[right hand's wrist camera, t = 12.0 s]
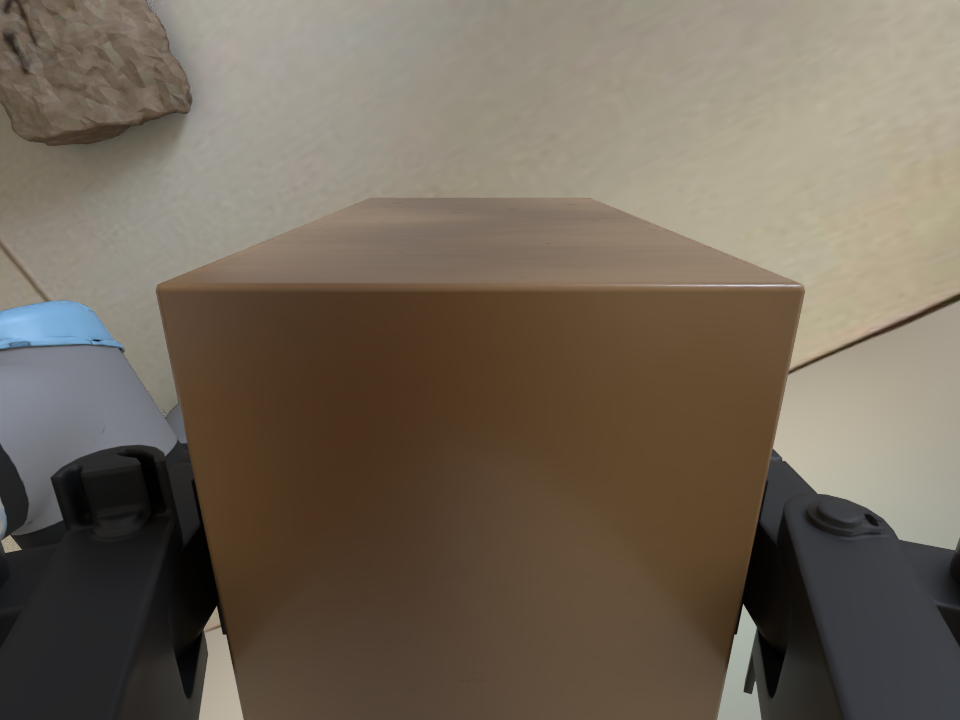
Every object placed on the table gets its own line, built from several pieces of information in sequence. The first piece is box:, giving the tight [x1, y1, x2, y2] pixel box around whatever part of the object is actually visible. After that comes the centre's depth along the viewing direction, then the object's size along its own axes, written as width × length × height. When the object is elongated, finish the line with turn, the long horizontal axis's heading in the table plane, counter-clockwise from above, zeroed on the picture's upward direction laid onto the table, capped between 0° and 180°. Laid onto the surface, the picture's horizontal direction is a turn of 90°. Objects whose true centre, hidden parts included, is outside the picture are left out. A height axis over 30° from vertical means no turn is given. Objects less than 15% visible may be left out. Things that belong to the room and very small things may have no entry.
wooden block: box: [156, 198, 805, 720], centre depth 12 cm, size 6×9×11 cm
